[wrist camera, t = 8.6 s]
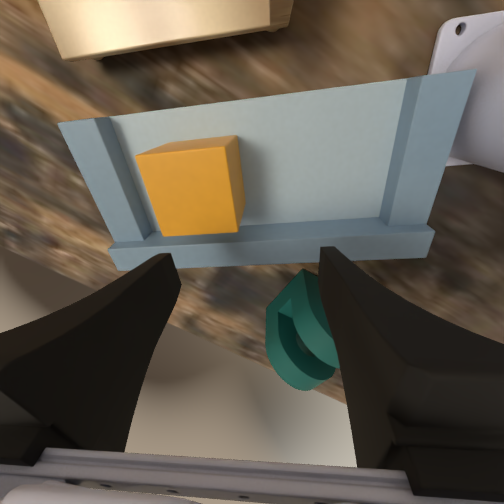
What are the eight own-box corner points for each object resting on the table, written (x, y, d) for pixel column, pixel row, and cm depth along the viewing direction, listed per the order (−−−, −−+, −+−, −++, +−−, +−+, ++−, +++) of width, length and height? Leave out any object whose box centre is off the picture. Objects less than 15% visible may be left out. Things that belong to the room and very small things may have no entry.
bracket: (266, 307, 27) (264, 375, 20) (302, 268, 23) (314, 334, 17) (381, 363, 31) (412, 435, 24) (427, 336, 27) (476, 411, 21)
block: (237, 134, 14) (225, 146, 11) (246, 203, 17) (238, 232, 13) (168, 142, 15) (133, 155, 11) (186, 208, 17) (162, 237, 13)
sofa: (424, 77, 15) (495, 65, 10) (390, 222, 20) (426, 258, 15) (103, 118, 17) (41, 124, 12) (149, 236, 22) (118, 271, 18)
